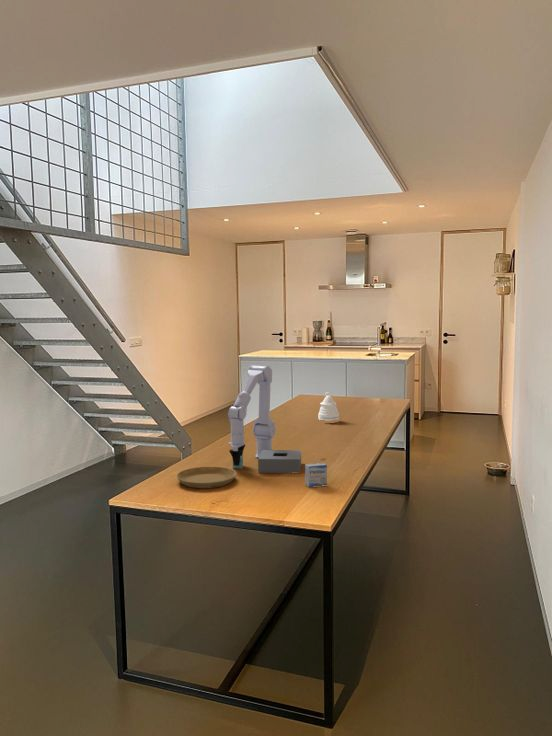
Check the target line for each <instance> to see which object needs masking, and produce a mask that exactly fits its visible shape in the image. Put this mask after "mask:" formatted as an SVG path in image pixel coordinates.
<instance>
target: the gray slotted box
mask: <svg viewBox="0 0 552 736" xmlns="http://www.w3.org/2000/svg"><path fill="white" fill-rule="evenodd" d="M257 459H258V460H257V465H258V466H257V467H258V469H257V471H258V473H259V474H261V473H263V474H264V473H267V474H273V473H274V474H277V473H279V474H296V473H295V472H300V473H301V469H300V468H302V450H301V449H272V450H262V451H261V453H260V456H259V458H257ZM292 472H294V473H292Z"/></svg>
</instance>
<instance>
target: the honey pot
mask: <svg viewBox="0 0 552 736" xmlns="http://www.w3.org/2000/svg"><path fill="white" fill-rule="evenodd" d="M324 394H325V396H324V399H323V400H322V402H320V403H319V404H320V408H319V412H318V413H317V414H318V415H317V416H318V418H317V420H318V419H319V420H325V421H332V420H338V419H339V420H340V413H339V410H338V407H337V403H336V402H335V400H334V398H333V397H332V396H331V395H330V392H325V393H324Z"/></svg>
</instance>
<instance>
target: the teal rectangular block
mask: <svg viewBox="0 0 552 736" xmlns="http://www.w3.org/2000/svg"><path fill="white" fill-rule="evenodd" d="M243 455H244V454H243ZM243 455H241V457H240V463H239V466H234V463H233V462H232V469H233V468H242V469H243V468H244V456H243Z"/></svg>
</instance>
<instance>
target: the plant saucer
mask: <svg viewBox="0 0 552 736" xmlns="http://www.w3.org/2000/svg"><path fill="white" fill-rule="evenodd" d="M236 476H237V472H236V471H235V470H233V469H231V468H227V467H220V466H200V467H191V468H188V469H184V470H181V471H179V472H178V473H177V474H176V478H177V479H178V481H179V482H180V483H181V484H182V485H183V486H186V487H189V488H193V489H194V488H195V489H214V488H219V486H220V487H224V486H225V485H228V484H229V483H231V482H232V481H233V480H234V479H235V477H236ZM213 487H214V488H213Z"/></svg>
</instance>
